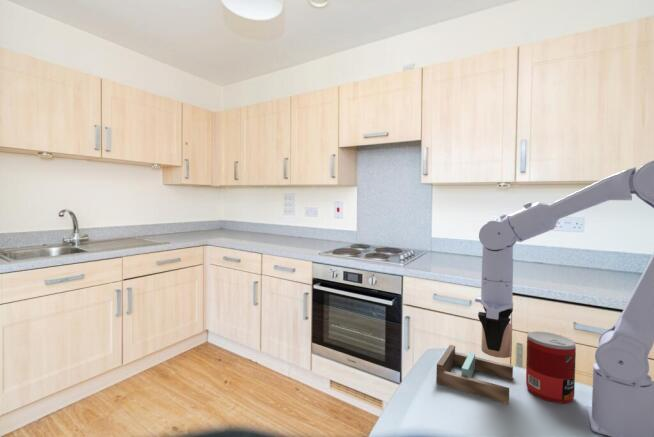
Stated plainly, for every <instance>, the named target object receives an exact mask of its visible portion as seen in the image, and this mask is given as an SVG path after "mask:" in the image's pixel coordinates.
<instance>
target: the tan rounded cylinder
mask: <svg viewBox="0 0 654 437" xmlns="http://www.w3.org/2000/svg"><path fill="white" fill-rule="evenodd" d="M512 341H513V324H512V323H510V322H509V324H508V325H507V327H506V329H505V331H504V334H503V339H502V344H501V348H500V351H494V350H489V349H488V348H487V344H486V338H485V333H484V329H483V326H482V325H481V348H480V349H481V352H483V353H484V354H485V355H488V356H490V357H495V358H499V359H507V358H511V357H512V350H513V347H512V346H513V344H512V343H513V342H512Z"/></svg>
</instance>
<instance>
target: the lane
mask: <svg viewBox="0 0 654 437" xmlns="http://www.w3.org/2000/svg"><path fill="white" fill-rule="evenodd" d="M467 356H468V354H466V353H460V352H456V345H454V344H449V346H448V347H447V349H446V350H445V352H444V353H443V354H442V356H441V357H440V358H439V359H438V361H437V363H436V377H435V378H436V382H435V383H436V384H438V385H440V386H441V385H442V386H445V387H449V388H453V389H456V390H458V391H462V392H466V393H469V394H472V395H477V396H480V397H482V398H487V399H489V400H493V401H497V402H500V403H504V404H507V405H509V403H510V387H507V386H503V385H500V384H496V383H493V382H489V381H485V380H481V379H477V378H474V377H472V378H470V377H466V376H463V375H462V374H459V373H456V372H451V370H452V368H453V367H454V365H455V366H459V367H462V366H463V364H464V362H465V360H466V358H467ZM474 371H478V372H482V373H487V374H490V375H495V376H497V377H502V378H506V379H510V380H513V378H514V365H512V364H508V363H503V362H499V361H495V360H489V359H487V358H482V357H477V356H475V370H474Z"/></svg>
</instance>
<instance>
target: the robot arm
mask: <svg viewBox="0 0 654 437" xmlns="http://www.w3.org/2000/svg"><path fill="white" fill-rule="evenodd" d="M633 195H635V196H636V197H637V198H638V199H640V200H641V201H643V202H644V203H645V204H647V205H648V206H650V207H651V208H653V209H654V160H652V161H648V162H647V163H644V164H643V165H641V166H640V167H639V168H638V169H637V167H635V166H634V167H632V168H628V169H626V170H622V171H619V172H617V173H614V174H612V175H609V176H607V177H605V178H602V179H601V180H599V181H597V182H594V183H592V184H590V185H587V186H586V187H583V188H582V189H580V190H579V189H578V190H577V191H575V192H574V193H571V194H569V195H567V196H565V197H562V198H560V199H558V200H556V201H555V202H551V203H550V204H548V203H543V202H539V201H538V202H535V203H532V202H526V203H525V204H523V208H522V209H520V210H517V211H515V212H513V213H510V214H509V215H506V214H503V215H501V216H499V219H500V220H490V221H488V222H487V223H485V224H484V225H483V226H481V228H480V230H479V232H478V239H479V242H480V243H481V245H482V256H481V289H480V290H481V291H480V294H481V295H480V296H476V297H474V302H475V303H480V304H481V305H482V308H483V309H484V310H483V311H484V312H483V311H478V313H477V317H478V321H480V324H481V327H482V326H483V329H484V333H485V338H486V344H487V348H488V349H489V350H494V351H500V348H501V344H502V339H503V334H504V331H505V329H506V327H507V325H508V324H509V323H510V322H511V318H510V316H511V314H512V313H513V310H514V308H513V307H514V302H513V292H514V291H513V287H514V286H513V284H514V283H513V282H514V281H513V280H514V258H513V257H514V256H513V255H514V252H513V251H514V246H515V244H516V243H517V242H518V243H521V242H524V241H526V240H527V241H528V240H529V239H532V238H534V237H537V236H539V235H543V234H544V233H547V232H550V231H552V230H555V228H556V227H557V223H558V221H560V219H563V218H565V217H568V216H571V215H574V214H576V213H579V212H581V211H584V210H587V209H590V208H592V207H595V206H599V205H600V204H604V203H606V202H608V201H632V200H633ZM653 346H654V252H653V253H652V254H651V257H650V258H649V260H648V262H647V264H646V266H645V267H644V270H643V272H642V274H641V276H640V277H639V279H638V281H637V283H636V285H635V287H634V289H633V291H632V292H631V294H630V297H629V299H628V301H627V302H626V304H625V305H624V308H623V310H622V312H621V313H620V315H619V316H618V317H617V319H616V321H615V323H614V324H613V325H612V326H611V327H610V328H609V329H606V330H604V331H603V332H602V333H601V334H600V336H599V339H598V346H597V348H596V350H595V353H594V358H595V362H594V363H593V365H592V396H591V398H592V399H591V400H592V401H591V406H590V405H587V406H585V407H586V408H585V409H586V412H587V416H588V420H589V424H590V427H591V431H593V432H595V433H597V434H602V435H604V436H608V437H654V380H652V377H651V375H649V371H650V365H649V364H650V363H649V354H650V353H651V350H652V348H653Z"/></svg>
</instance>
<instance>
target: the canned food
mask: <svg viewBox="0 0 654 437" xmlns="http://www.w3.org/2000/svg"><path fill="white" fill-rule="evenodd" d="M576 348H577V346H576V342H575V341H574V340H572V339H570V338H569V337H567V336H564V335H561V334H556V333H551V332H546V331H530V332H528V333H527V337H526V364H525V365H526V366H525V368H526V369H525V370H526V372H525V373H526V374H525V375H526V376H525V383H526V387H527V389H528V391H529V392H530V393H532V395H534V396H536V397H538V398H540V399H542V400H545V401H547V402H551V403H556V404H570V403H571V402H573V401H574V398H575V387H576V386H575V382H576V381H575V380H576V357H577V356H576V350H577V349H576Z"/></svg>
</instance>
